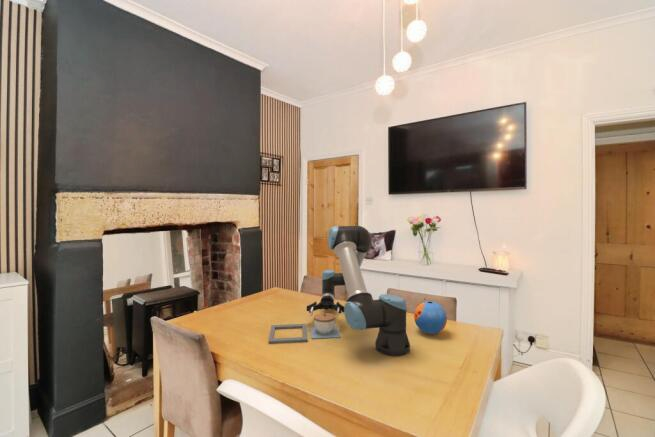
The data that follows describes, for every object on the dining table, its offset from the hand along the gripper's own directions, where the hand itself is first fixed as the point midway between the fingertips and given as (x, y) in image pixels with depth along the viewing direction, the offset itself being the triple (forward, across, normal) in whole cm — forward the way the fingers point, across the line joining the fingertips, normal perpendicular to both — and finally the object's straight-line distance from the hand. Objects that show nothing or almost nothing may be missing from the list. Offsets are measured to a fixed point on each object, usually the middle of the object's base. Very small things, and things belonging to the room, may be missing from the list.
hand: (324, 314), depth 160 cm
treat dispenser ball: (-1, -52, -9) cm, 53 cm away
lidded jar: (+2, 0, -8) cm, 9 cm away
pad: (+2, 0, -9) cm, 9 cm away
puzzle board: (+5, +18, -9) cm, 20 cm away
